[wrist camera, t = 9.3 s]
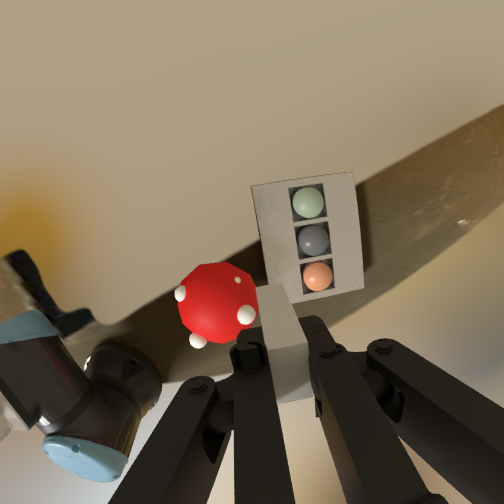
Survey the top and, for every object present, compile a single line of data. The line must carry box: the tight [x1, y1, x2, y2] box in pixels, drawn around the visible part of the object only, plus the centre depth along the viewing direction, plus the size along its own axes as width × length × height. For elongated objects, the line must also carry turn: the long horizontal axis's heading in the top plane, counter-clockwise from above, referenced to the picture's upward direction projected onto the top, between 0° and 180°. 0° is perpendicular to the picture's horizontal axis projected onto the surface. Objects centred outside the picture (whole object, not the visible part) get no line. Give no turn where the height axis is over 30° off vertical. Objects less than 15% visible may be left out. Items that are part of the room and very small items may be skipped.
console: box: [251, 172, 364, 304], centre depth 41 cm, size 14×17×4 cm
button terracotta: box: [302, 260, 332, 291], centre depth 41 cm, size 4×4×2 cm
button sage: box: [291, 187, 324, 218], centre depth 39 cm, size 4×4×2 cm
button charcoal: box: [297, 224, 329, 256], centre depth 40 cm, size 4×4×2 cm
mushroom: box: [175, 262, 259, 348], centre depth 38 cm, size 11×11×12 cm
